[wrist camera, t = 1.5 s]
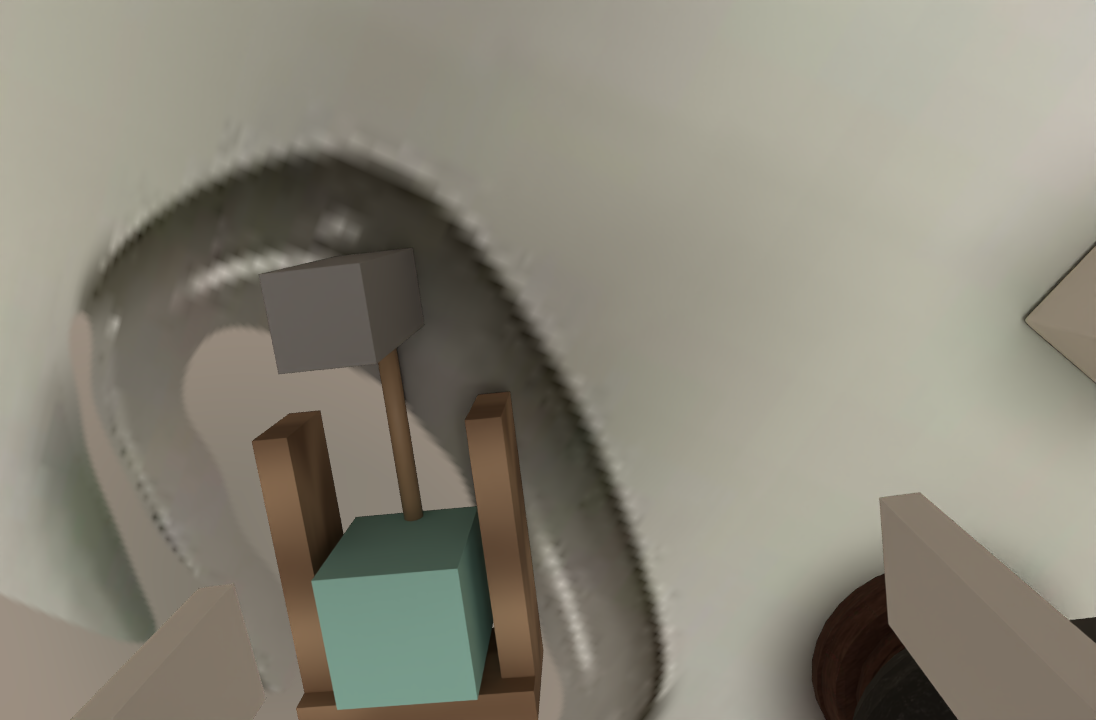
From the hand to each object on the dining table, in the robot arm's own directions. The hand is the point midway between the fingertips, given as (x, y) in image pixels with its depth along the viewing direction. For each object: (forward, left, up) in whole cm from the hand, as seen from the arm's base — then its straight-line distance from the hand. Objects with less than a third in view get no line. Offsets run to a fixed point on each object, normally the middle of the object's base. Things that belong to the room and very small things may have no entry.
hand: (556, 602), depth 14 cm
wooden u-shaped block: (+6, -8, -19) cm, 21 cm away
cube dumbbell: (+3, -8, -19) cm, 21 cm away
